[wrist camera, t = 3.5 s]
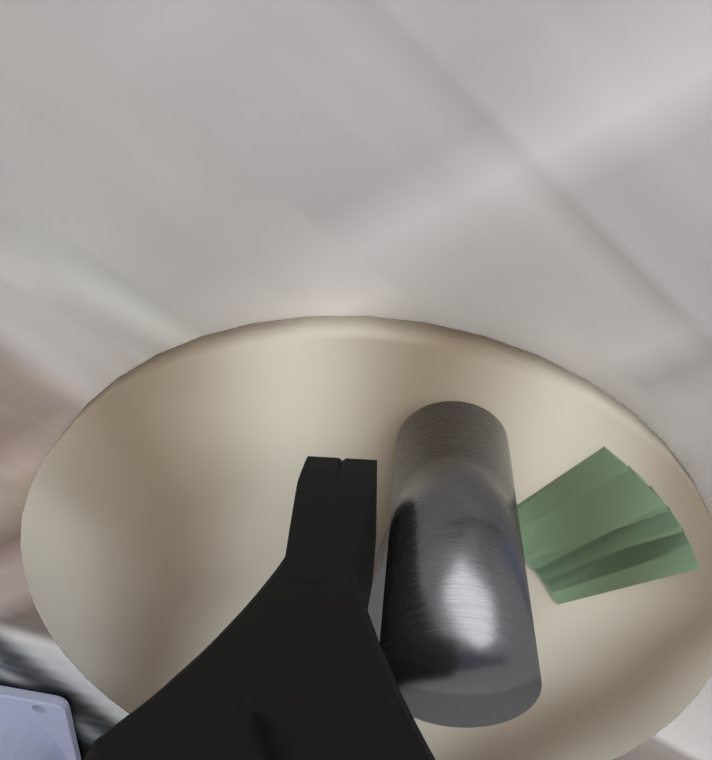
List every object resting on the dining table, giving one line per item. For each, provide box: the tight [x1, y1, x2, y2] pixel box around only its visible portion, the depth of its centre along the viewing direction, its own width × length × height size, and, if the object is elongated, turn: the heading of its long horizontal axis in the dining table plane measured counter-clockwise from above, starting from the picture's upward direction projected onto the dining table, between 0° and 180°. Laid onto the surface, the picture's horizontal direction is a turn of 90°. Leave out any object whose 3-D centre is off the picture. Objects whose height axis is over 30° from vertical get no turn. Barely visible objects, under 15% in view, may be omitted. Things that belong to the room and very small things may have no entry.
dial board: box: [20, 316, 712, 760], centre depth 19 cm, size 20×20×1 cm
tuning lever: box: [368, 401, 542, 728], centre depth 14 cm, size 11×3×6 cm, turn 165°
